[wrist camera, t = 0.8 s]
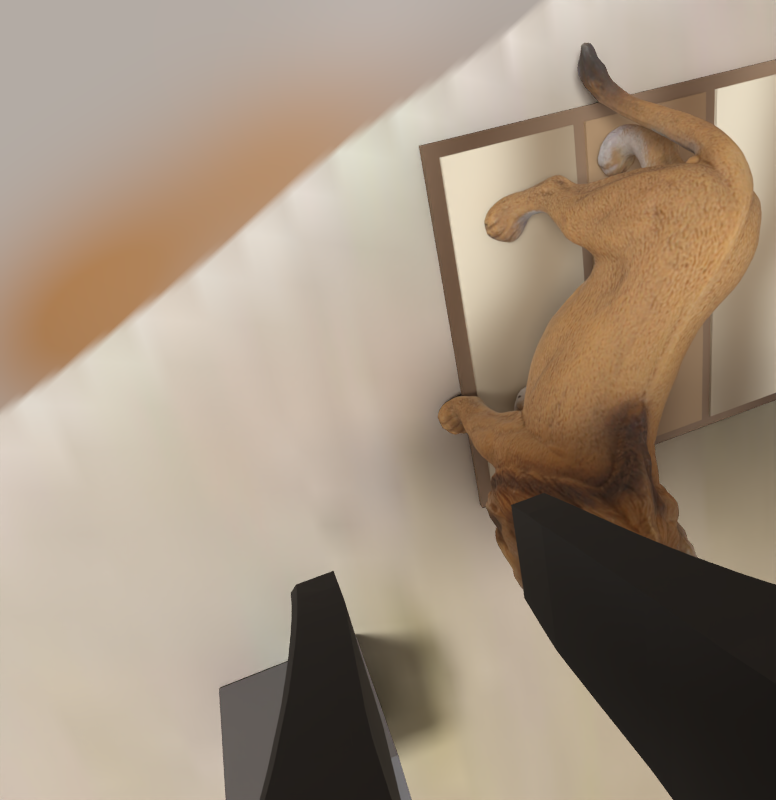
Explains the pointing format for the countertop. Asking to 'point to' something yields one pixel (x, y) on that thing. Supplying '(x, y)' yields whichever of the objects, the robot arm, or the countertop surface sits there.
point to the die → (266, 732)
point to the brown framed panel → (572, 264)
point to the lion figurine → (617, 316)
